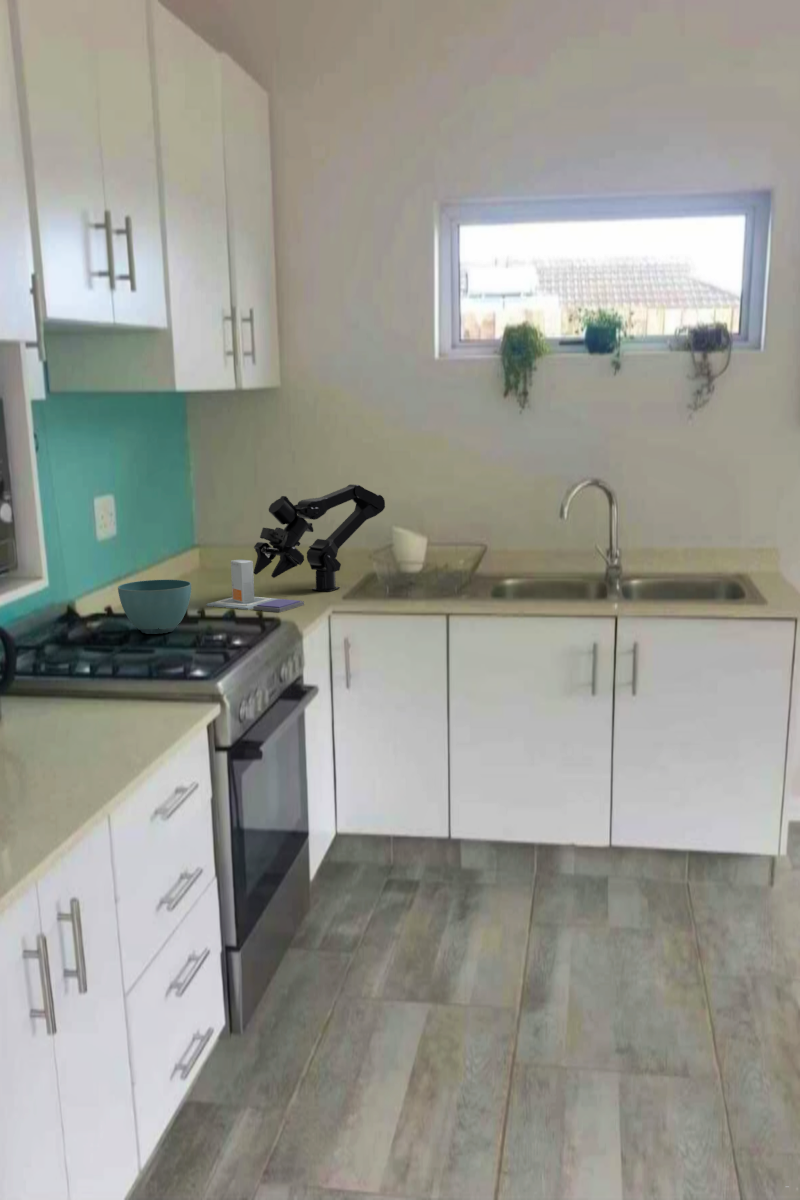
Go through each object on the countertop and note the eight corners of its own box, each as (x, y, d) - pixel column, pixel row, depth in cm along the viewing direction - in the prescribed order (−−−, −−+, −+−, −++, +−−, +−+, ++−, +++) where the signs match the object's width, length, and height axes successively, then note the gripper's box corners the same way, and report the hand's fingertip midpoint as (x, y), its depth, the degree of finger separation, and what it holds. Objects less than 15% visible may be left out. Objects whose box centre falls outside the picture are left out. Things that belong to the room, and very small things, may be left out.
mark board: (238, 597, 313) (238, 594, 313) (279, 600, 306) (279, 597, 306) (206, 605, 300) (206, 602, 300) (248, 609, 293) (248, 606, 293)
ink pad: (278, 602, 303) (278, 598, 303) (304, 604, 299) (303, 600, 299) (253, 609, 293) (253, 605, 293) (279, 612, 289) (279, 607, 288)
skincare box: (232, 600, 304) (230, 560, 302) (244, 599, 307) (242, 558, 305) (242, 603, 299) (240, 562, 297) (255, 601, 302) (253, 560, 300)
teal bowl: (134, 624, 276) (130, 579, 273) (201, 624, 274) (198, 578, 272) (111, 639, 258) (107, 591, 256) (183, 639, 257) (180, 590, 254)
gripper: (257, 515, 314) (228, 555, 309) (294, 519, 300) (264, 561, 295) (280, 538, 321) (252, 578, 315) (316, 543, 307) (288, 585, 302)
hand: (263, 575), depth 307 cm, fingers open, 9 cm apart
